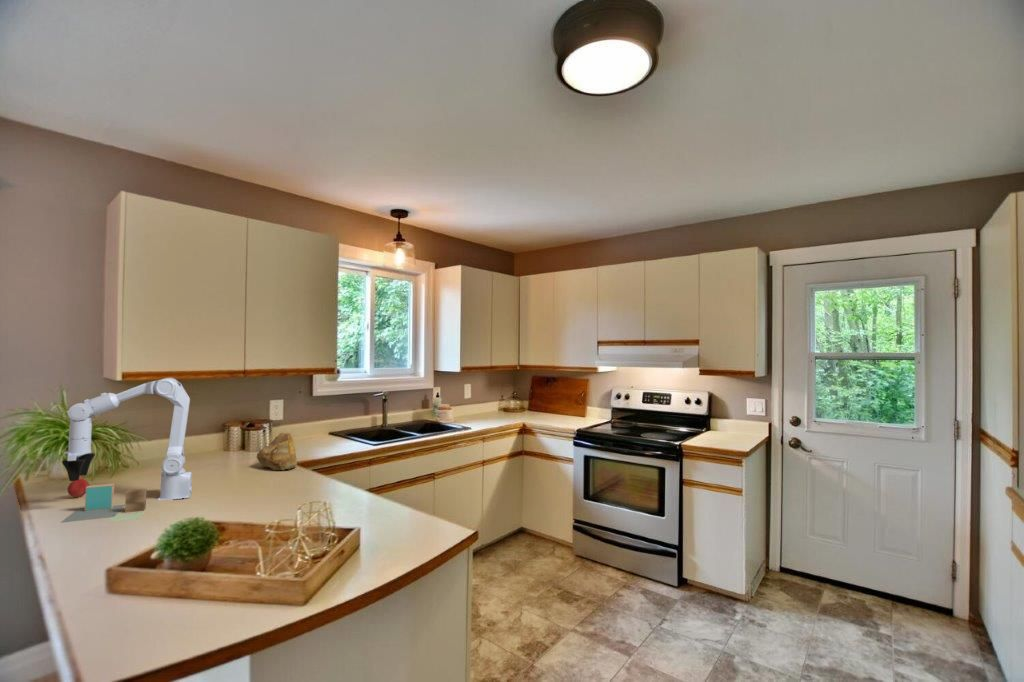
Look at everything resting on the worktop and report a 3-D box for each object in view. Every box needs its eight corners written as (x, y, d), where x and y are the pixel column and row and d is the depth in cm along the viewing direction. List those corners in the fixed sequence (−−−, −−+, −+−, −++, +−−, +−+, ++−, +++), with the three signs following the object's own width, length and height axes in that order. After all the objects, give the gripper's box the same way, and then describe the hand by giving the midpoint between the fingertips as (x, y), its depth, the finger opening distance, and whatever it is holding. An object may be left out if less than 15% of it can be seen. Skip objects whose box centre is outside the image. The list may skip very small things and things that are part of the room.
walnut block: (145, 509, 160) (146, 488, 161) (143, 511, 158) (144, 490, 158) (127, 511, 158) (128, 490, 158) (124, 513, 156) (125, 492, 156)
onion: (63, 501, 168) (64, 478, 168) (73, 496, 173) (74, 474, 173) (82, 500, 169) (84, 477, 169) (92, 495, 175) (93, 473, 175)
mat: (125, 505, 164) (125, 504, 164) (113, 518, 152) (113, 516, 152) (77, 510, 158) (77, 509, 158) (60, 523, 146) (60, 522, 146)
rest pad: (144, 513, 157) (144, 511, 157) (139, 519, 150) (139, 518, 150) (113, 516, 153) (113, 515, 153) (107, 523, 147) (107, 521, 147)
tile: (113, 507, 161) (114, 483, 161) (111, 508, 159) (112, 484, 159) (86, 510, 158) (87, 485, 158) (84, 511, 156) (85, 487, 156)
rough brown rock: (257, 465, 230) (255, 434, 230) (294, 459, 238) (293, 430, 238) (257, 477, 210) (255, 444, 209) (298, 471, 218) (296, 438, 217)
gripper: (73, 435, 167) (71, 474, 166) (56, 442, 154) (54, 484, 153) (98, 434, 170) (96, 472, 169) (84, 440, 157) (82, 482, 157)
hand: (78, 478), depth 162 cm, fingers open, 7 cm apart
